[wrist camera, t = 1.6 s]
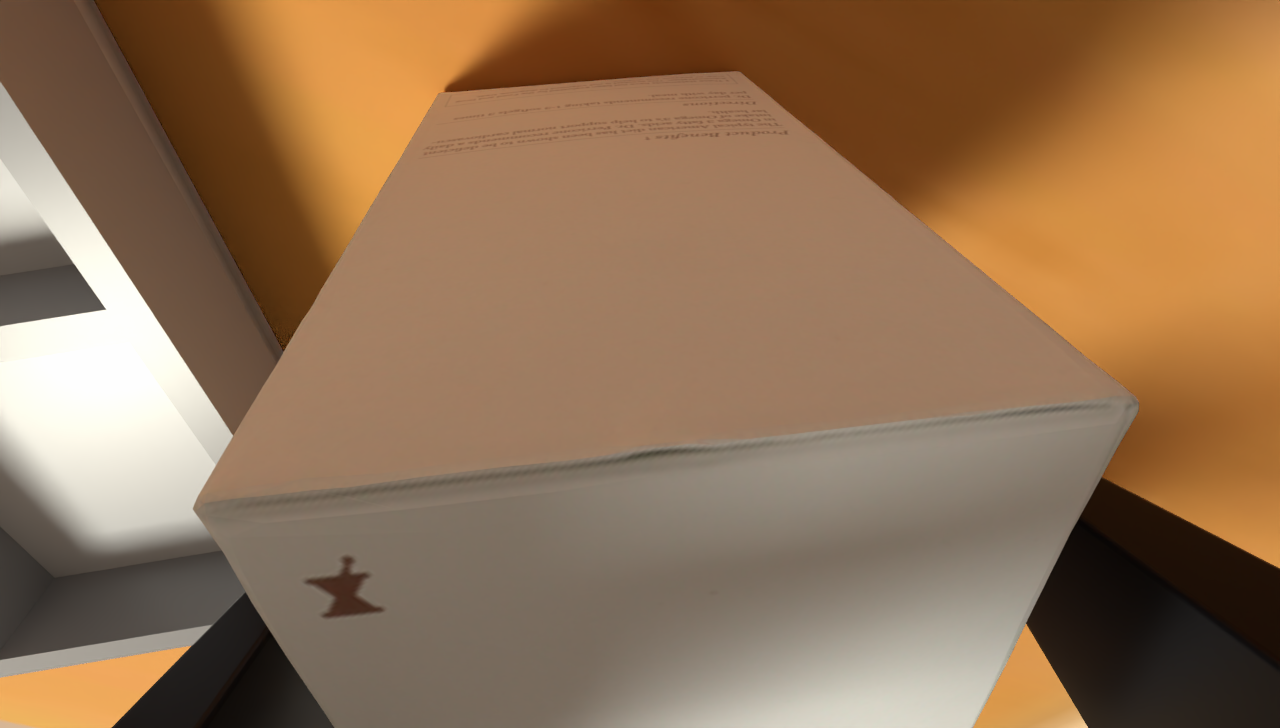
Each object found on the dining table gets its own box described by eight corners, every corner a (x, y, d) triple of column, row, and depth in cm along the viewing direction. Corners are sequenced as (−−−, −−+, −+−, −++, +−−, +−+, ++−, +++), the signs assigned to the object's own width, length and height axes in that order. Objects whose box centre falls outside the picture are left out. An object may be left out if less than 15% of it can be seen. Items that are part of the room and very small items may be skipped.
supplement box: (488, 355, 19) (409, 890, 8) (431, 83, 14) (134, 502, 4) (737, 332, 19) (946, 812, 9) (754, 64, 15) (1188, 396, 5)
